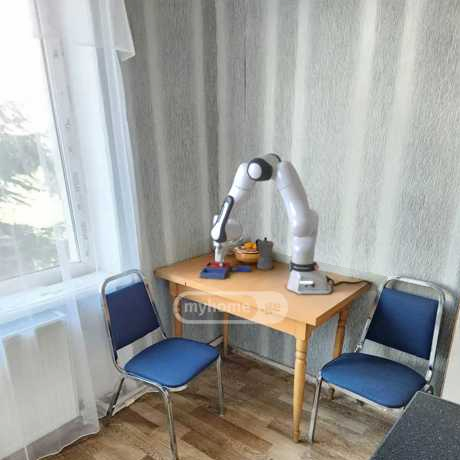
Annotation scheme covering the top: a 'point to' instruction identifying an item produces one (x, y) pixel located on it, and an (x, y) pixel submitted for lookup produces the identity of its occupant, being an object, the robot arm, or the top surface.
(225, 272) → the blue bin
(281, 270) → the top surface
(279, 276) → the top surface
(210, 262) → the red bin
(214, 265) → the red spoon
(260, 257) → the coffeepot
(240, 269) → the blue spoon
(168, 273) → the top surface
